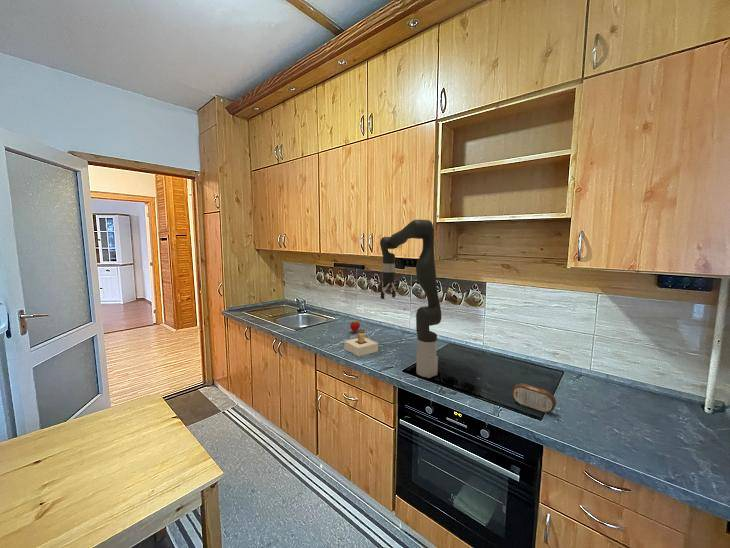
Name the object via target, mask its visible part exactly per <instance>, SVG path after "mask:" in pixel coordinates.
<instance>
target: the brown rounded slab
mask: <svg viewBox="0 0 730 548" xmlns="http://www.w3.org/2000/svg"><path fill="white" fill-rule="evenodd" d="M511 395H512V397H513V400H514V401H515V402H516V403H518V404H519V405H521V406H523V407H525V408H528V407H529V408H528V409H531V408H532V410H534V409H535V410H534V411H537V410H538V411H537V412H540V411H541V412H540V413H544V414H549V413H551V412H552V411H554V410H555V408H556V406H557V400H556V398H555V396H554V395H553V393H551V392H550V391H548V390H545V389H542V388H539V387H536V386H533V385H529V384H527V383H517V384H515V385H514V386H513V388H512V390H511Z"/></svg>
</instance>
